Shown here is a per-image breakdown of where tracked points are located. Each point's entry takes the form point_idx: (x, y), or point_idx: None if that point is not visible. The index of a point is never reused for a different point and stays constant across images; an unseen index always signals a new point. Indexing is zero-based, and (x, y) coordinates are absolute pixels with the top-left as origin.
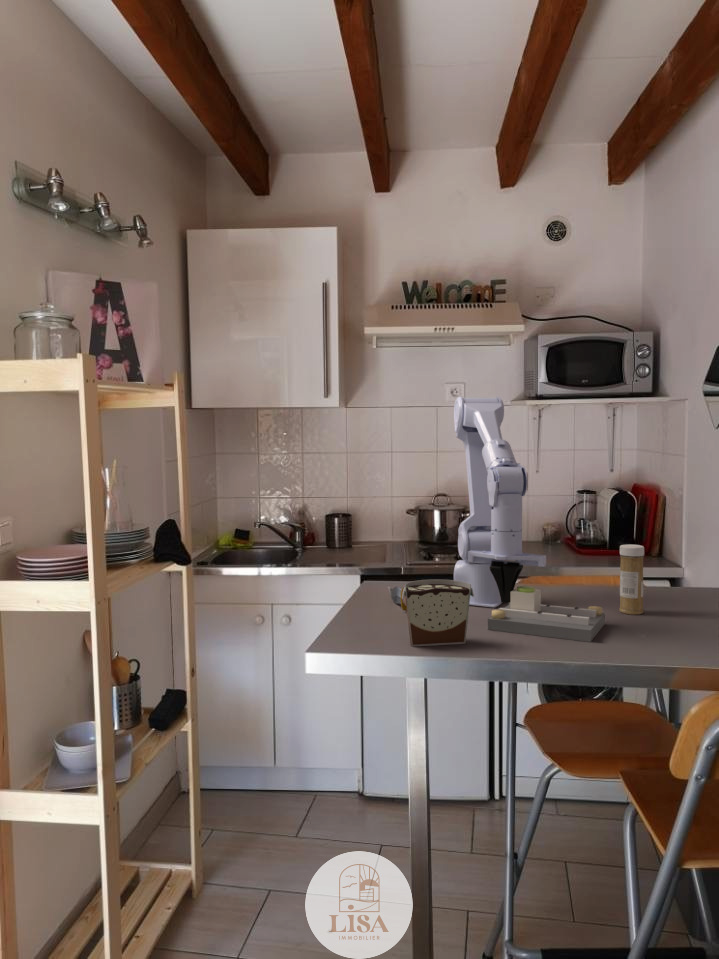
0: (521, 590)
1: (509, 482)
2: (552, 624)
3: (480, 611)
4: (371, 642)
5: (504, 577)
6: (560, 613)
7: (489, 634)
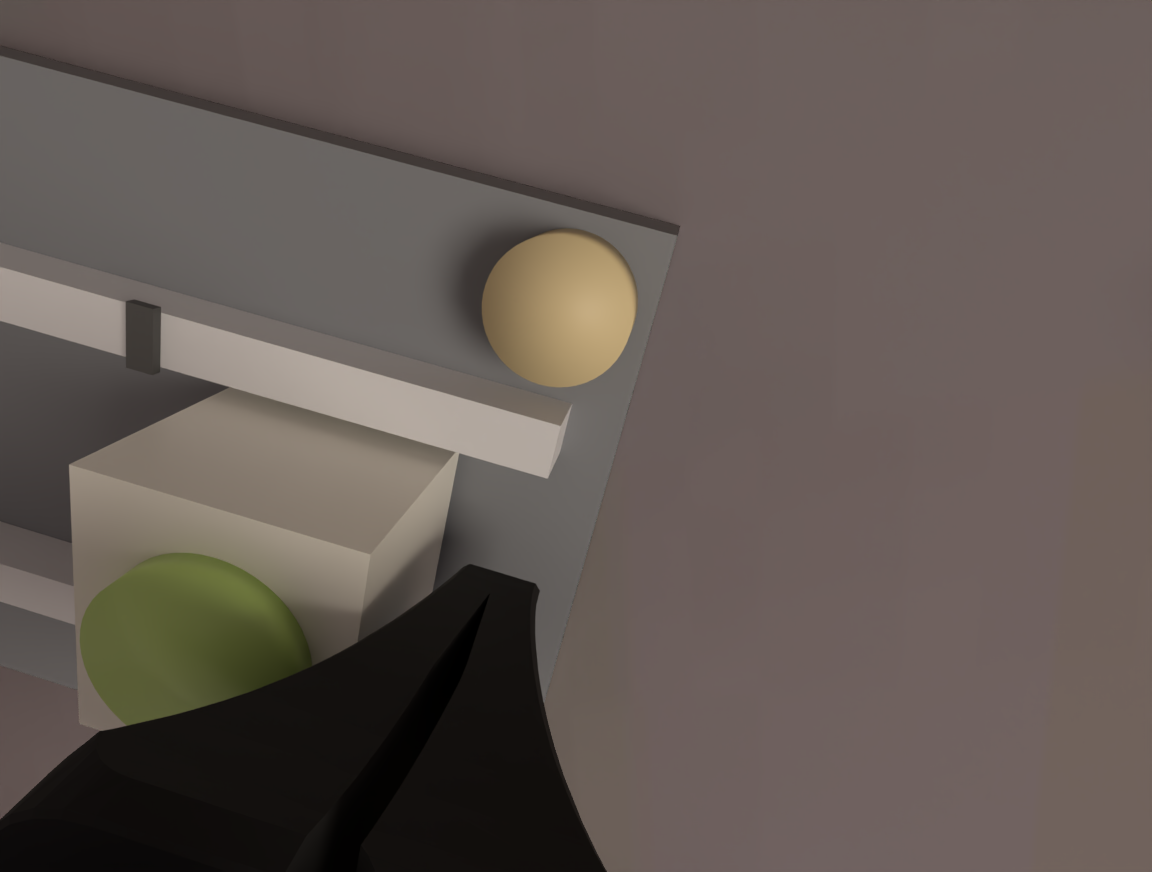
0: (228, 580)
1: None
2: (41, 129)
3: (754, 812)
4: None
5: (377, 740)
6: None
7: (657, 36)
